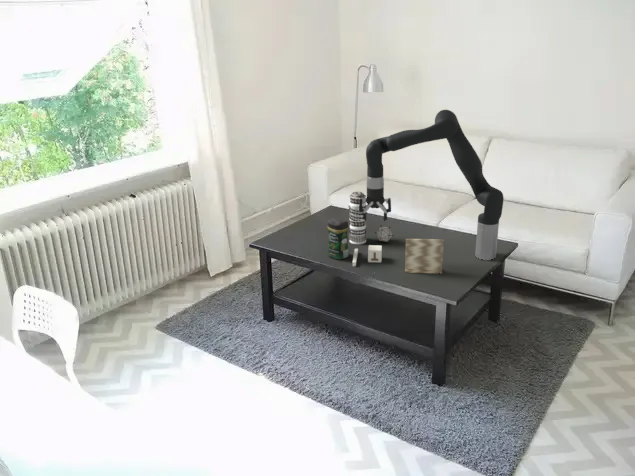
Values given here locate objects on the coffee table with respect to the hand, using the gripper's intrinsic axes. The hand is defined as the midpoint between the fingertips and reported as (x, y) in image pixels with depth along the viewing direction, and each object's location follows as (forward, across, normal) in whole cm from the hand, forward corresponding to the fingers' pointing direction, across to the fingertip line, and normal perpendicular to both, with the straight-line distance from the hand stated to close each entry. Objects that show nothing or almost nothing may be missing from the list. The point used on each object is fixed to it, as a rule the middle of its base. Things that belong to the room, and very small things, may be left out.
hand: (375, 220), depth 271 cm
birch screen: (+19, +22, -12) cm, 31 cm away
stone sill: (+19, -9, 0) cm, 21 cm away
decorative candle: (+20, -9, +22) cm, 31 cm away
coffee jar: (+19, -17, +3) cm, 26 cm away
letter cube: (+19, 0, 0) cm, 19 cm away
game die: (+20, +4, +22) cm, 30 cm away
